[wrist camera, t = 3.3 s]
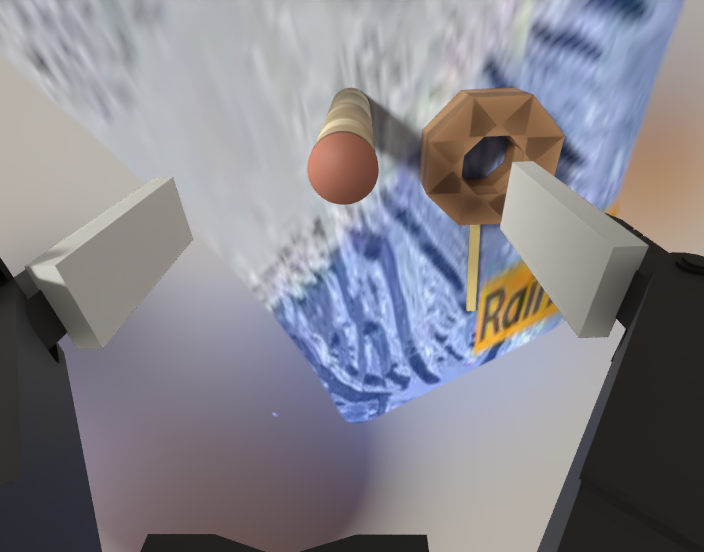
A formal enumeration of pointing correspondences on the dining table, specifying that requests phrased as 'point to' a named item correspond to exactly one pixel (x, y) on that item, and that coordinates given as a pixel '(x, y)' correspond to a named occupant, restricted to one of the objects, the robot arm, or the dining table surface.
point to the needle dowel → (345, 151)
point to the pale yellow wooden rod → (472, 266)
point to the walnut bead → (466, 131)
